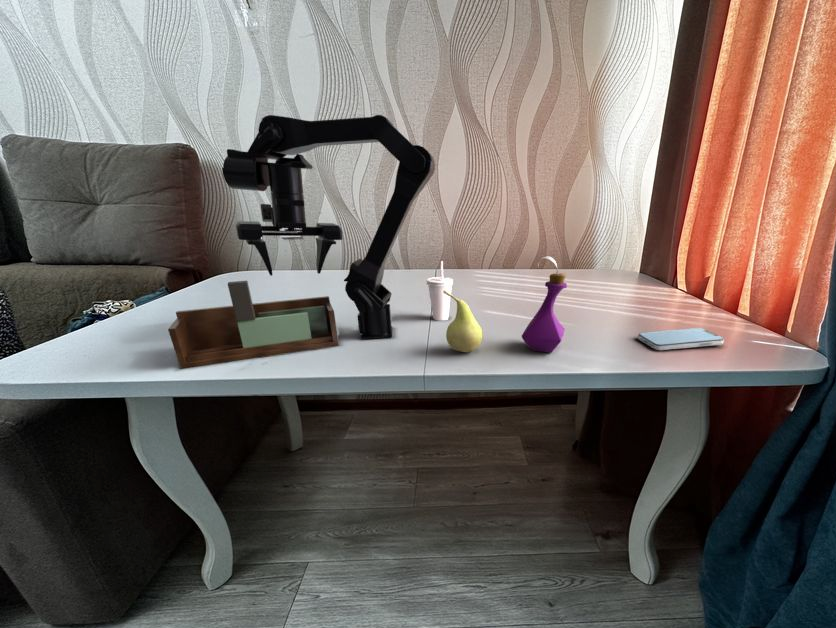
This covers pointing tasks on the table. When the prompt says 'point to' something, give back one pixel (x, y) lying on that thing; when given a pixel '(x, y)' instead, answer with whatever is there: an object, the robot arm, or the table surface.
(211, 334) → the brown wooden box
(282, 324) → the green grey l-shaped block
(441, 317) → the smoothie
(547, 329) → the perfume bottle
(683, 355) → the table surface
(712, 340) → the smartphone
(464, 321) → the fruit
